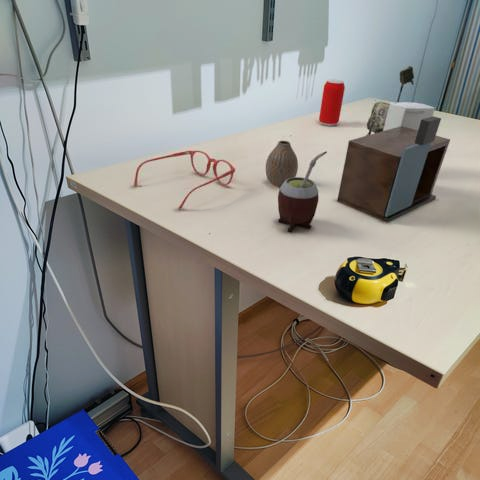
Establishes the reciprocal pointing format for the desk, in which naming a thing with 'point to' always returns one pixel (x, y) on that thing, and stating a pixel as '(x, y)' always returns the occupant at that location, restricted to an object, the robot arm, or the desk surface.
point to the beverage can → (331, 102)
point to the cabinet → (386, 171)
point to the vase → (281, 164)
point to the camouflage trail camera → (387, 104)
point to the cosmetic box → (407, 115)
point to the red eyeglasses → (195, 169)
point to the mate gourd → (298, 200)
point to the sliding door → (412, 166)
